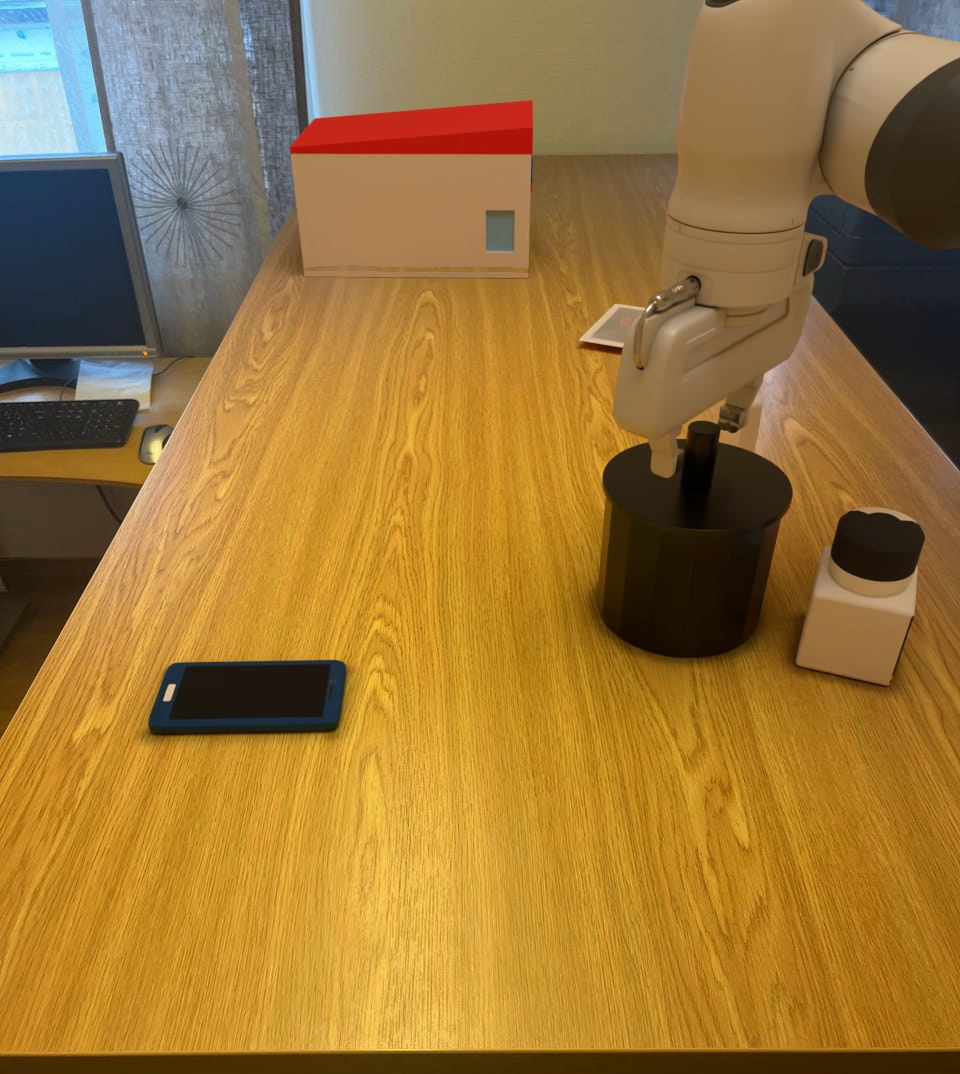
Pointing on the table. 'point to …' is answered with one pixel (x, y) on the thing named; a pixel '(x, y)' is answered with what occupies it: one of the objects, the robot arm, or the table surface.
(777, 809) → the table surface
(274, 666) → the cell phone
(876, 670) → the medicine bottle
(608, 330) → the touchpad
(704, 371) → the robot arm
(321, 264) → the bookstore
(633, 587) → the tin
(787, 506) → the tin lid
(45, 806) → the table surface
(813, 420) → the table surface
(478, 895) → the table surface
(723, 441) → the eye dropper bottle
